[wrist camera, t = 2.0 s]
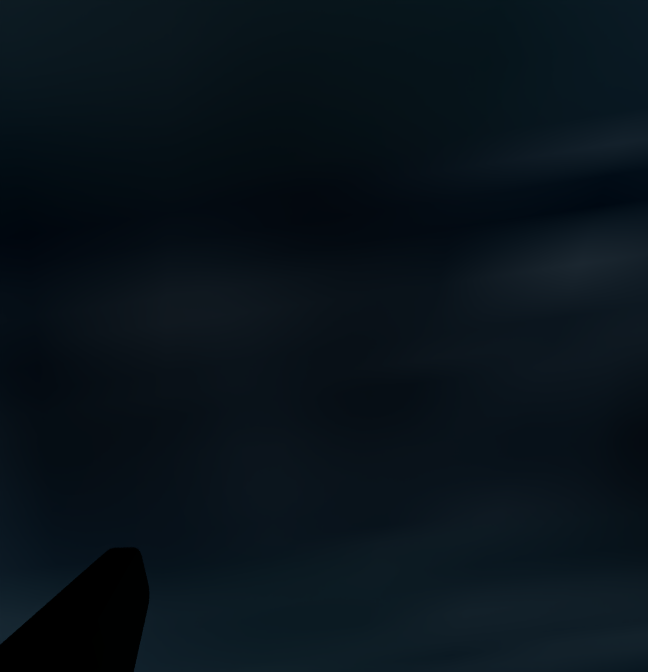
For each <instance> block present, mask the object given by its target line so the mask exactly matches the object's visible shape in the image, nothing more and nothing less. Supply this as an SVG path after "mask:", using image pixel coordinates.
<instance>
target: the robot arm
mask: <svg viewBox="0 0 648 672" xmlns="http://www.w3.org/2000/svg"><path fill="white" fill-rule="evenodd" d="M148 604H149V585H148V581H147V576H146V572H145V568H144V564H143V559H142V555H141V553H140V551H139V549H137V548H134V547H124V548H111V549H109V550H108V551H106V552H105V553H104V554H103V555H102V556H100V557H99V558H98V559H97V560H96V561H95V562H94V563H92V564H91V565H90V566H89V567H88V568H87V569H86V570H84V571H83V572H82V573H81V574H80V575H79V576H78V577H77V578H75V579H74V580H73V581H72V582H71V583H70V584H69V585H67V586H66V587H65V588H64V589H63V590H62V591H61V592H60V593H58V594H57V595H56V596H55V597H54V598H53V599H52V600H50V601H49V602H48V603H47V604H46V605H45V606H44V607H42V608H41V609H40V610H39V611H38V612H37V613H36V614H35V615H33V616H32V617H31V618H30V619H29V620H28V621H27V622H25V623H24V624H23V625H22V626H21V627H20V628H19V629H17V630H16V631H15V632H14V633H13V634H12V635H11V636H10V637H8V638H7V639H6V640H5V641H4V642H3V643H2V644H0V672H134V668H135V664H136V659H137V654H138V650H139V645H140V641H141V636H142V632H143V627H144V623H145V618H146V614H147V609H148Z"/></svg>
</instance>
